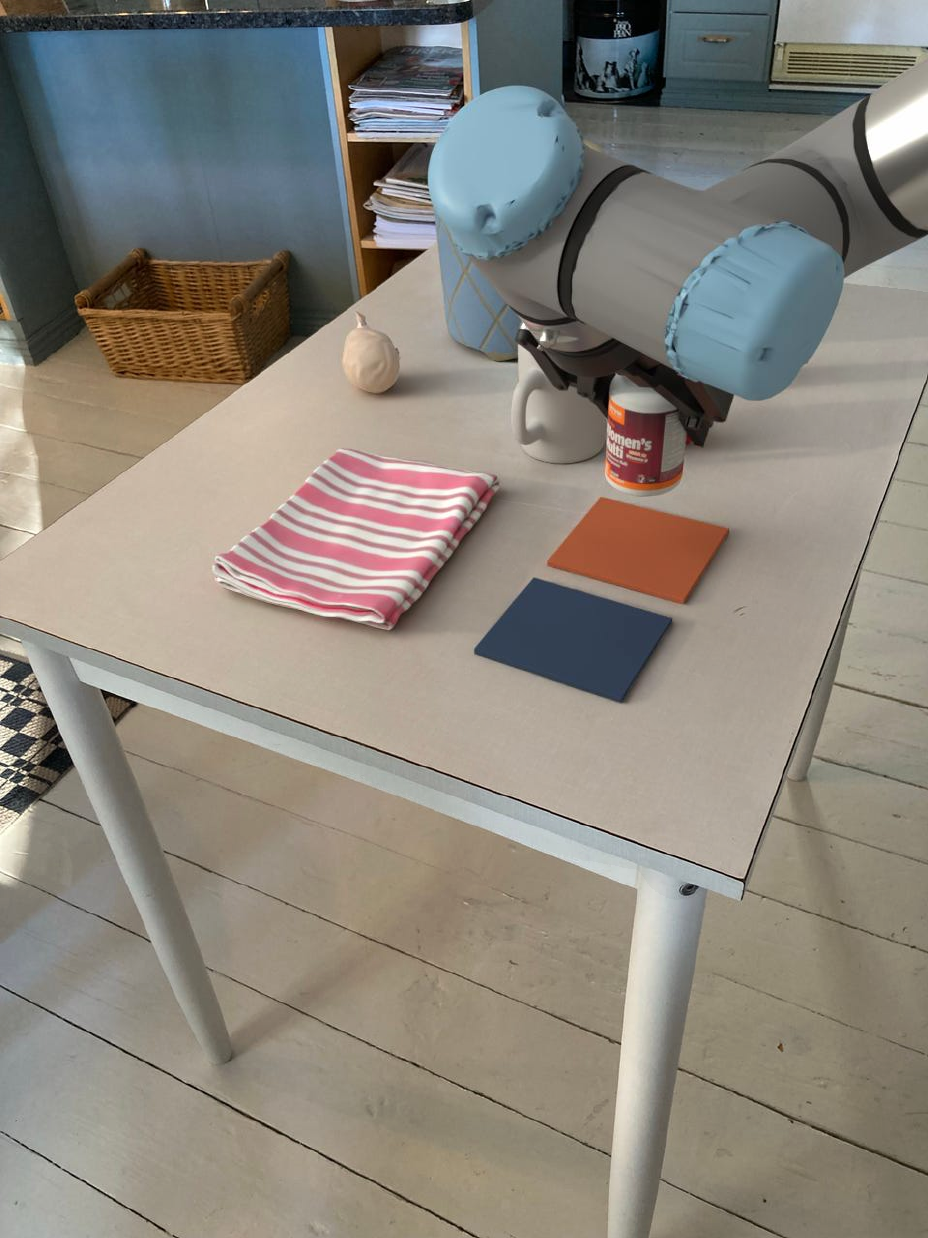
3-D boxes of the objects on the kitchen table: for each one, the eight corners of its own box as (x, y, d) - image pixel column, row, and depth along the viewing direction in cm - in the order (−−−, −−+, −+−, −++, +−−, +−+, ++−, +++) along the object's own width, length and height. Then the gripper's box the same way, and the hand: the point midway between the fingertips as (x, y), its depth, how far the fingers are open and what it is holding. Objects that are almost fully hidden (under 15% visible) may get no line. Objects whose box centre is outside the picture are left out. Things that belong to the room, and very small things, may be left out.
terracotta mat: (728, 533, 86) (729, 528, 85) (683, 604, 79) (684, 599, 78) (600, 501, 91) (600, 496, 90) (546, 565, 84) (547, 560, 83)
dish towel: (210, 596, 83) (200, 562, 81) (347, 460, 99) (342, 428, 97) (391, 643, 77) (386, 608, 75) (505, 490, 93) (504, 457, 91)
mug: (550, 414, 104) (550, 312, 97) (621, 435, 100) (626, 331, 93) (481, 464, 97) (476, 358, 90) (554, 489, 93) (554, 380, 86)
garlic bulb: (407, 375, 113) (400, 307, 108) (399, 401, 108) (391, 331, 103) (350, 375, 114) (341, 307, 109) (339, 401, 109) (329, 332, 104)
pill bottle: (590, 483, 80) (594, 351, 73) (631, 452, 84) (639, 322, 76) (656, 508, 77) (667, 371, 70) (696, 474, 80) (711, 340, 73)
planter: (417, 321, 125) (402, 150, 112) (551, 290, 130) (551, 124, 118) (483, 379, 111) (475, 192, 98) (630, 341, 117) (639, 160, 104)
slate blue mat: (672, 622, 77) (672, 617, 77) (621, 703, 70) (621, 698, 70) (533, 581, 82) (533, 576, 82) (473, 653, 75) (473, 648, 75)
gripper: (427, 329, 63) (542, 441, 84) (719, 385, 55) (766, 492, 76) (464, 218, 63) (569, 357, 84) (761, 258, 55) (796, 400, 77)
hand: (662, 421), depth 80 cm, fingers closed on pill bottle, 6 cm apart
